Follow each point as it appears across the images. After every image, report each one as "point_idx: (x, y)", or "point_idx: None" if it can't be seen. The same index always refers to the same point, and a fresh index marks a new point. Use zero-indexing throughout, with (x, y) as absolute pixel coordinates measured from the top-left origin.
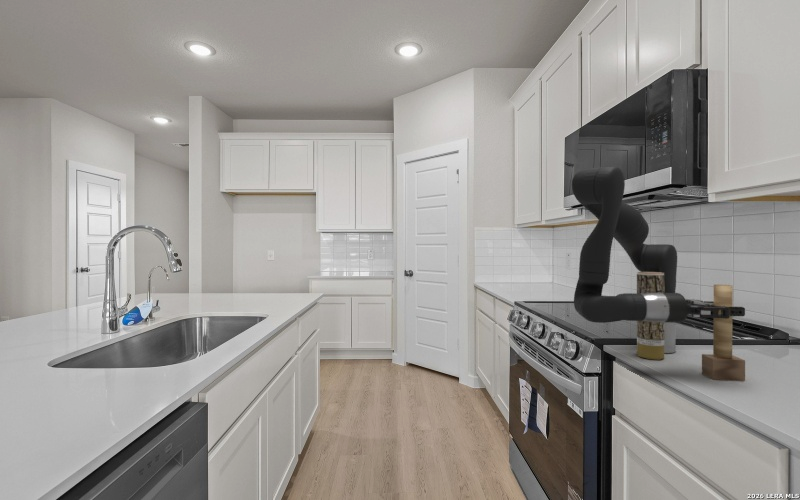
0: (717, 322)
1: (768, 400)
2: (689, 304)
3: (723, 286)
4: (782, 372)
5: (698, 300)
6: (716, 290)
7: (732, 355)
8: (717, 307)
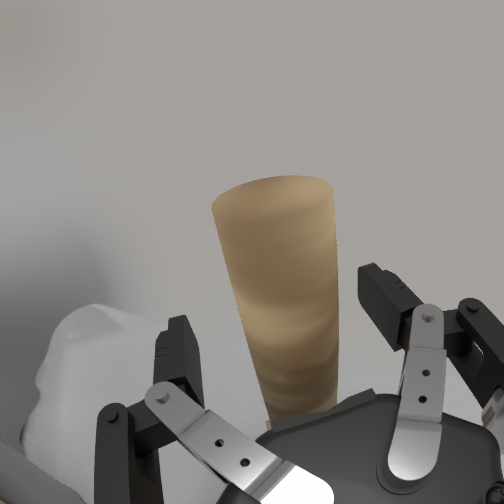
0: (326, 405)
1: (453, 407)
2: (434, 500)
3: (332, 195)
4: (215, 351)
5: (216, 415)
6: (313, 253)
7: (269, 422)
8: (501, 338)
